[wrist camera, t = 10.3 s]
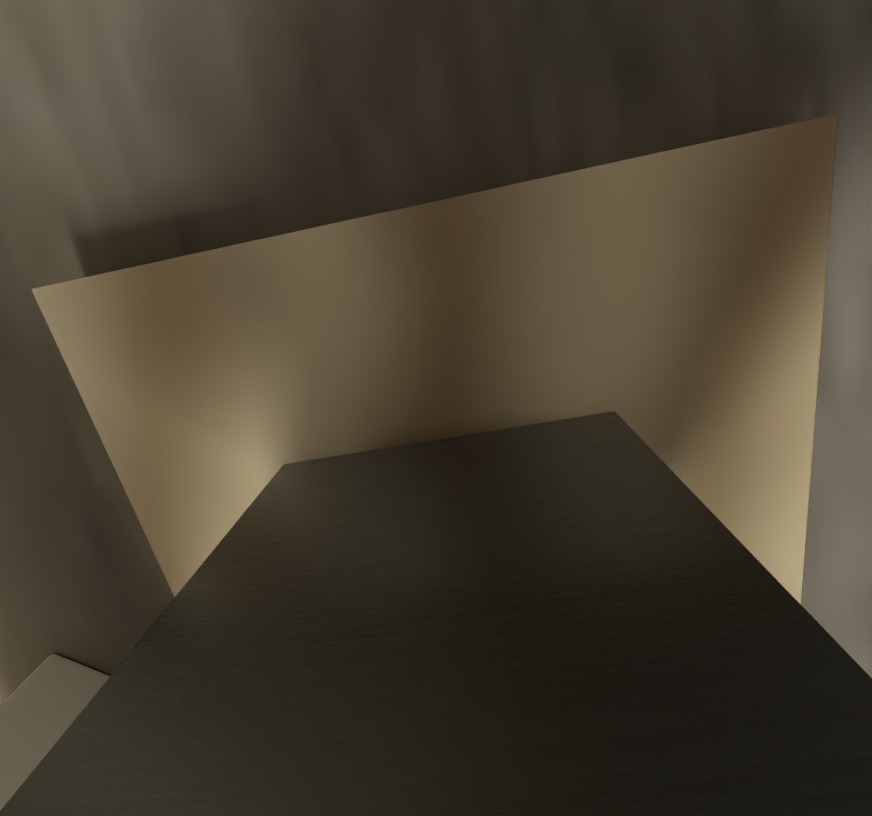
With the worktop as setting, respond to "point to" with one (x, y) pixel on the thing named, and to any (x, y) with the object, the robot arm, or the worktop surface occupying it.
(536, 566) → the square metal tube
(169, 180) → the worktop surface
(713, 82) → the worktop surface
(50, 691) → the milk
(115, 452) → the post board
